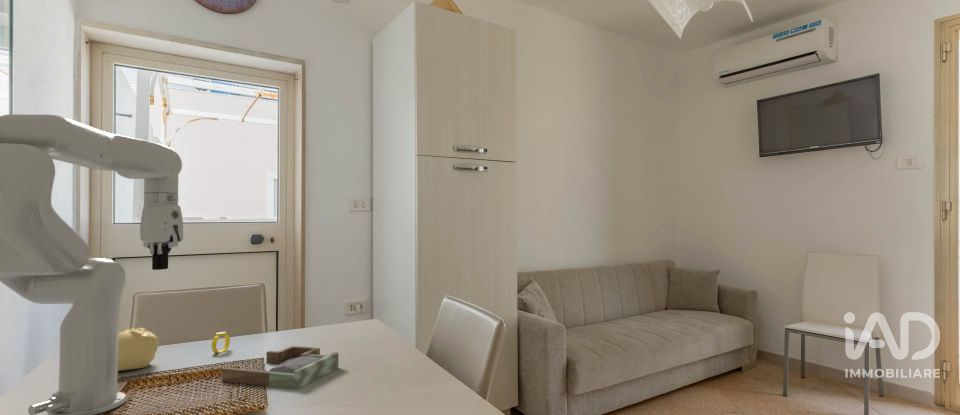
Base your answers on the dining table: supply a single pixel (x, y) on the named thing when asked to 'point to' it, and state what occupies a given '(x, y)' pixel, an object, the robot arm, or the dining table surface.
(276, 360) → the channel
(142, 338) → the sculpture
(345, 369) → the dining table surface
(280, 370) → the stone block
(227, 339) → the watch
